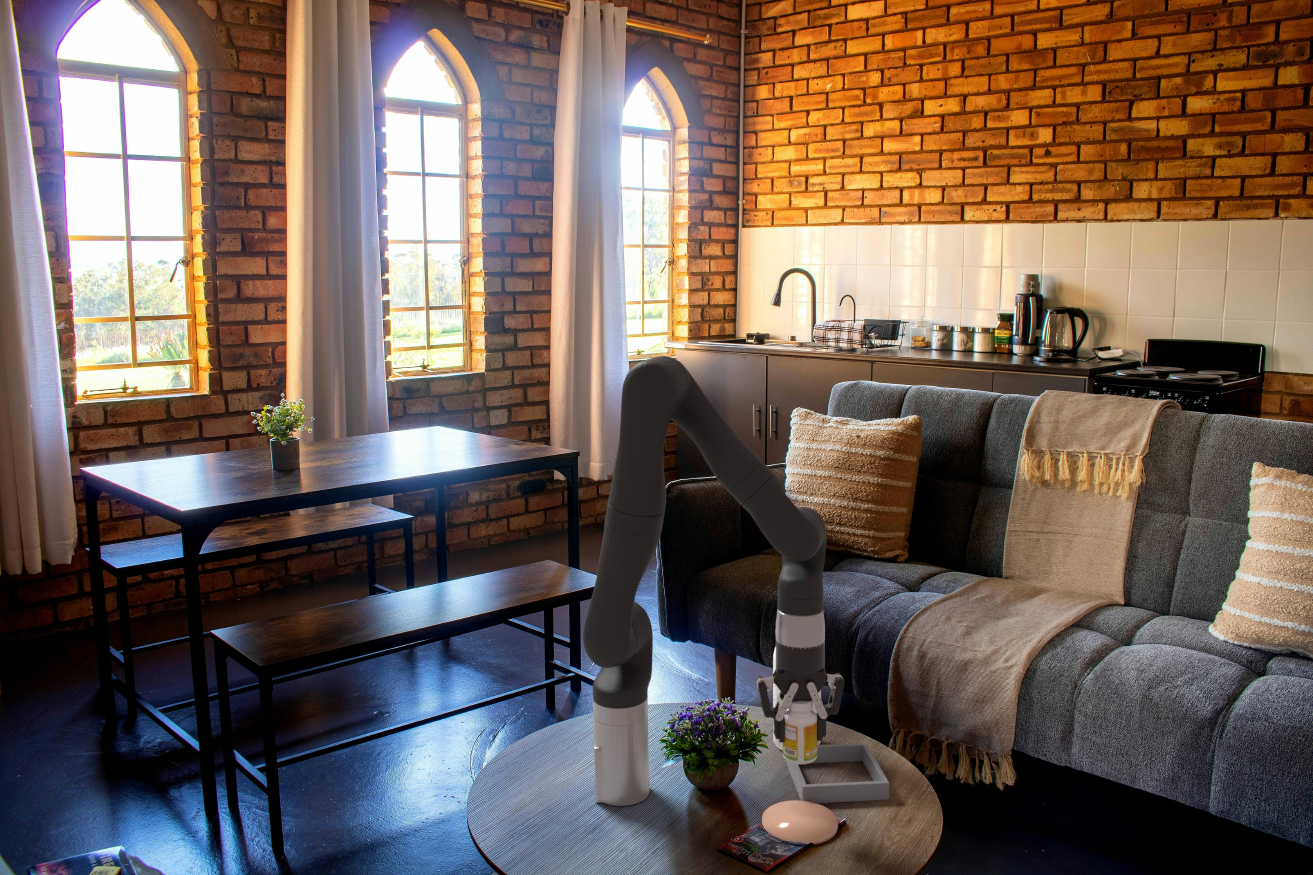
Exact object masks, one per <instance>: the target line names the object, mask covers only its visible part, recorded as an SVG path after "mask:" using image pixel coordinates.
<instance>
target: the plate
mask: <svg viewBox="0 0 1313 875" xmlns="http://www.w3.org/2000/svg"><path fill="white" fill-rule="evenodd" d="M761 825H763V826H762V828H763V827H764V828H763V830H764V829H765V830H766V831H767V832H768V833H770V834H771V835H772V836H775V837H777V838H779V839H781V840H785V841H790V842H791V841H792V842H802V843H805V842H811V843H813V844H814V845H818V844H822V843H824V842H827V841H829V840H831V839H832V838H834V836H836V835H837V832H838V830H839V829H838V828H839V821H838V818H837V815H836V814H835V813H834V811H832V810H831V809H829V808H828V807H826V806H824V805H821V804H820V803H813V802H808V801H801V800H794V799H792V800H785V801H780V802H776V803H775V804H772V805H770V806H768V807H767V808H766V809H765V810H764V811H763V813H762V816H761ZM837 829H838V830H837ZM765 830H764V831H765ZM766 831H765V832H766ZM767 832H766V833H767ZM768 833H767V834H768Z"/></svg>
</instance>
